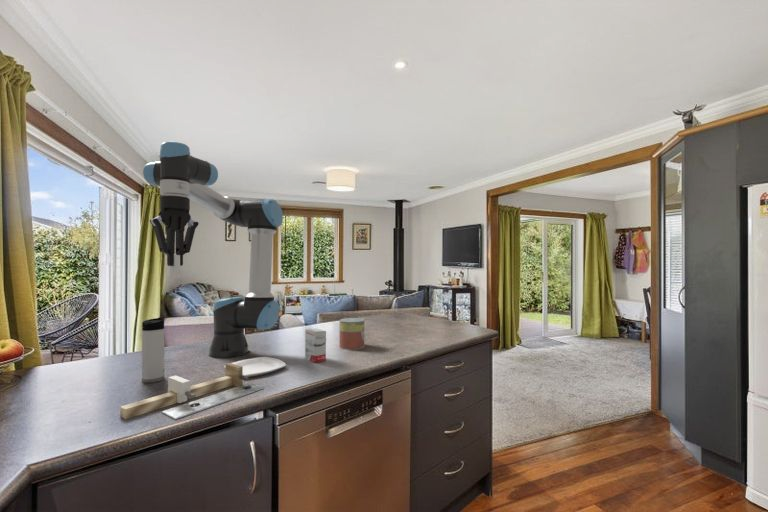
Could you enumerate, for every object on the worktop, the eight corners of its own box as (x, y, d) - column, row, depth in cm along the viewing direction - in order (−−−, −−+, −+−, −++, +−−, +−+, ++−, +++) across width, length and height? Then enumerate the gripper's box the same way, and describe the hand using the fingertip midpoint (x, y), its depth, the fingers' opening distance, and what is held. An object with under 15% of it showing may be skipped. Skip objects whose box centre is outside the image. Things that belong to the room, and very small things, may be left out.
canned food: (363, 349, 158) (363, 322, 158) (337, 349, 159) (337, 322, 159) (365, 343, 170) (365, 317, 170) (341, 343, 170) (341, 317, 170)
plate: (293, 370, 131) (293, 364, 131) (242, 383, 117) (242, 377, 117) (266, 359, 145) (266, 354, 145) (216, 371, 130) (216, 365, 130)
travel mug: (169, 377, 122) (169, 317, 122) (151, 383, 116) (151, 320, 116) (156, 375, 124) (156, 316, 125) (137, 381, 118) (137, 319, 118)
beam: (136, 426, 87) (136, 401, 87) (118, 415, 93) (118, 391, 93) (252, 386, 113) (252, 367, 113) (233, 380, 119) (233, 362, 119)
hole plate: (162, 412, 94) (162, 411, 94) (249, 384, 116) (249, 382, 116) (175, 419, 90) (175, 417, 90) (263, 388, 112) (263, 387, 112)
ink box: (326, 360, 142) (326, 330, 142) (315, 363, 138) (315, 332, 138) (315, 356, 148) (315, 327, 148) (304, 358, 145) (304, 328, 145)
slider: (189, 407, 97) (189, 385, 97) (167, 397, 104) (167, 377, 104) (197, 405, 98) (197, 383, 98) (175, 395, 105) (175, 375, 105)
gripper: (157, 192, 99) (157, 278, 99) (203, 198, 110) (203, 276, 110) (144, 194, 104) (144, 277, 104) (190, 200, 114) (190, 275, 114)
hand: (175, 277), depth 107 cm, fingers closed
